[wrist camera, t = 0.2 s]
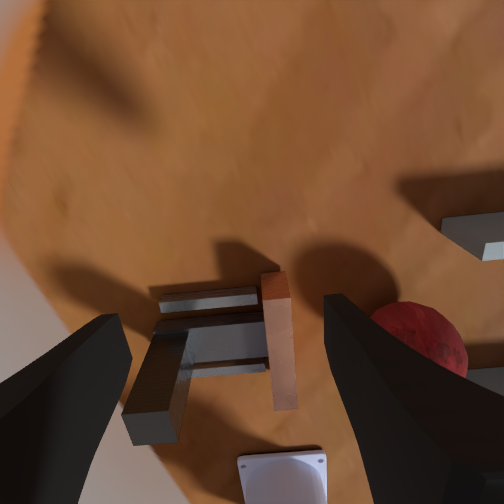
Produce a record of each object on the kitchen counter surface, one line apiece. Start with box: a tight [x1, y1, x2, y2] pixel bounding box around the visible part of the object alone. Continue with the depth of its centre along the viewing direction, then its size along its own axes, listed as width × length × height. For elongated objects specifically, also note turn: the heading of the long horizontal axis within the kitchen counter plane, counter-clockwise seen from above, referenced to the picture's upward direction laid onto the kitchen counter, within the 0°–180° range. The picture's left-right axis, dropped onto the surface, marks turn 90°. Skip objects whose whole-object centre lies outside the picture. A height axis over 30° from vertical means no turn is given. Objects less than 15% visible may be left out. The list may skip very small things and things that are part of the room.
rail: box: [159, 286, 266, 378], centre depth 23 cm, size 7×6×1 cm
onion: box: [370, 301, 468, 378], centre depth 19 cm, size 6×6×8 cm
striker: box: [121, 271, 298, 446], centre depth 20 cm, size 9×9×7 cm
